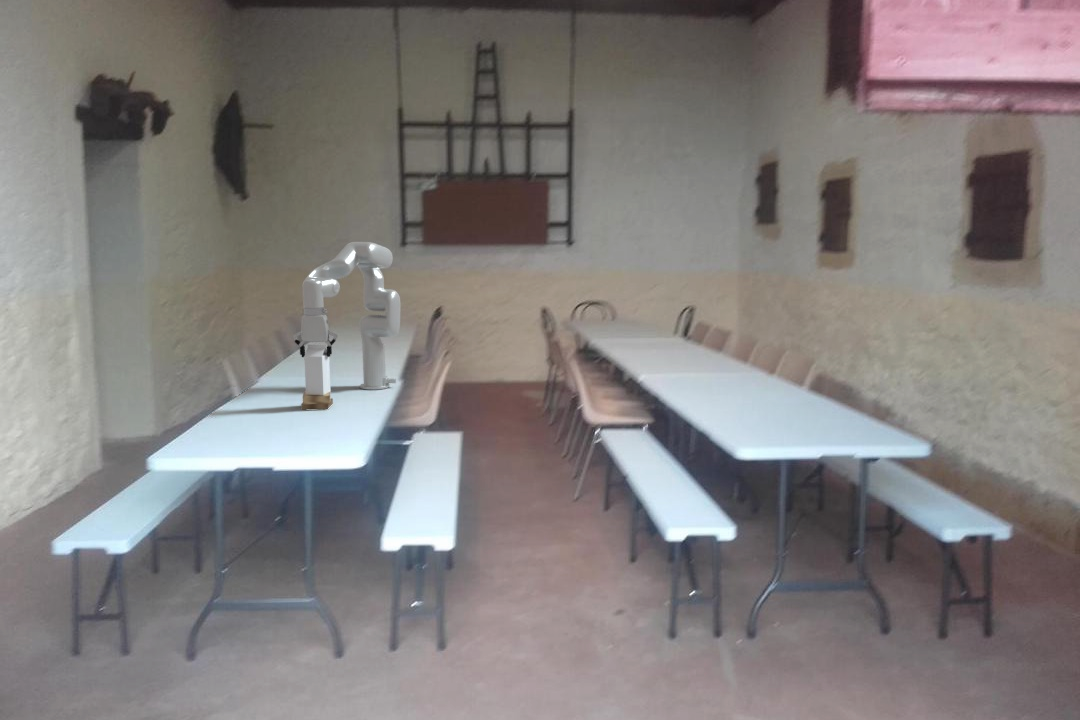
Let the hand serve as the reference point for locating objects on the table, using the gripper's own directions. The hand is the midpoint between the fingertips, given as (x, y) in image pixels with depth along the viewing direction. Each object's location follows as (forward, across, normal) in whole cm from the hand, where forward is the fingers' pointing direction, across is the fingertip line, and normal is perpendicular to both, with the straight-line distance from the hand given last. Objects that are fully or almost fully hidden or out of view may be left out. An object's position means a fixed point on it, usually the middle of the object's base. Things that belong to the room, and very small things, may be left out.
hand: (316, 356), depth 339 cm
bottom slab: (+20, 0, 0) cm, 20 cm away
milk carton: (+15, 0, +1) cm, 15 cm away
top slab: (+17, 0, +1) cm, 17 cm away
